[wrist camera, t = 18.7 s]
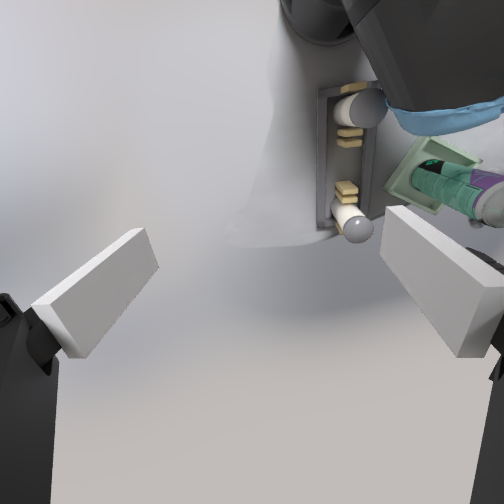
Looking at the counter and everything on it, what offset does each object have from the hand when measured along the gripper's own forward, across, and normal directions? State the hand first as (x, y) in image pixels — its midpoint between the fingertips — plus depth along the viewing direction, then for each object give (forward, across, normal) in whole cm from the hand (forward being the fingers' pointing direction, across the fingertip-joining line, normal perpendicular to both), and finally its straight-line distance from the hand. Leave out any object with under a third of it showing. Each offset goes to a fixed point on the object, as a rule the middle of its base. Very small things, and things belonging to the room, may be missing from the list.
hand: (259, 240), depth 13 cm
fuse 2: (+35, +12, -10) cm, 38 cm away
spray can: (+34, +26, -6) cm, 44 cm away
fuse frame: (+35, +12, -2) cm, 37 cm away
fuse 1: (+35, +12, +6) cm, 37 cm away
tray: (+35, +26, -6) cm, 44 cm away
